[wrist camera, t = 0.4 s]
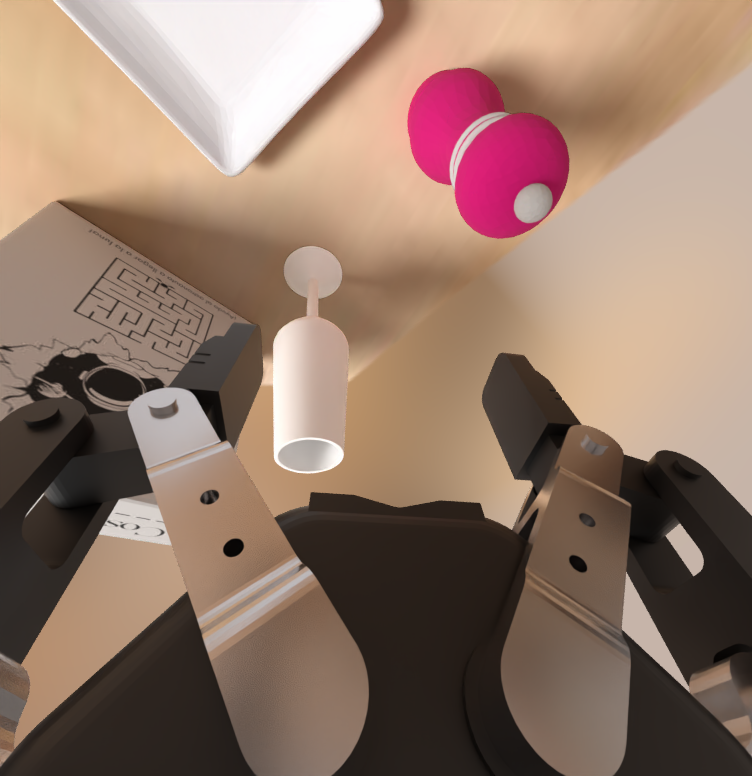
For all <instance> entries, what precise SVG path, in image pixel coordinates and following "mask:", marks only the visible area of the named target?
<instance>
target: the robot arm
mask: <svg viewBox="0 0 752 776" xmlns="http://www.w3.org/2000/svg"><path fill="white" fill-rule="evenodd" d="M262 376H263V357H262V343H261V330H260V327H259V325H255V324H246V323H237V322H234V323H233V324H232V325H231V326H230V328H229V329H228V331H227V332H226V334H225V335H224V336H214V337H212V338H210V339H208V340H207V341H205V342H203V343H202V344H201V345H200V346H199V348H198V349H197V350H196V352H195V355H194V354H193V355H192V357H191V358H190V359H189V362H187V363H186V364H185V366H184V367H183V368H182V369H181V371H180V372H179V373H178V375H177V376H176V377H175V378H174V380H173V381H172V382H171V384H170V385H169V386H168V387H167V388H161V389H157V390H153V391H150V392H147V393H145V394H143V395H141V396H139V397H138V398H136V399H135V400H134V401H133V402H132V403H131V405H130V406H129V408H128V410H124V411H117V412H108V413H99V414H91V415H88V413H87V411H86V408H85V406H84V405H83V404H82V403H81V402H80V401H78V400H75V399H71V398H50V399H44V400H40V401H36V402H33V403H30V404H27V405H25V406H23V407H20V408H18V409H16V410H15V411H13V412H11V413H10V414H9V415H7V416H6V417H5V418H4V419H3V420H1V421H0V776H752V516H751V515H750V514H749V513H748V512H747V511H746V510H745V508H744V507H743V506H742V505H741V504H740V503H739V502H738V501H737V500H736V499H735V498H734V497H733V496H732V495H731V494H730V493H729V492H728V491H727V490H726V488H725V487H724V486H723V485H722V484H721V483H720V482H719V481H718V480H717V479H716V478H715V477H714V476H713V475H712V474H711V473H710V472H709V471H708V470H707V469H706V468H704V467H703V466H702V465H700V464H699V463H697V462H696V461H694V460H692V459H691V458H689V457H687V456H684V455H682V454H680V453H677V452H673V451H668V450H663V451H659V452H657V453H656V454H655V455H654V456H653V457H652V458H651V460H650V461H649V462H647V461H644V460H640V459H637V458H634V457H630V456H627V455H624V453H623V450H622V448H621V447H620V445H619V444H618V443H617V442H616V441H615V440H614V439H613V438H611V437H610V436H609V435H607V434H605V433H604V432H602V431H600V430H598V429H596V428H593V427H590V426H586V425H582V424H581V423H580V422H579V421H578V419H577V418H576V416H575V415H574V414H573V413H572V411H571V410H570V408H569V407H568V406H567V404H566V403H565V402H564V400H562V397H561V396H560V395H559V393H558V392H556V390H555V388H554V387H553V385H552V384H551V383H550V381H549V380H548V379H546V378H545V377H544V376H543V375H541V374H540V373H539V372H537V371H535V369H534V368H533V367H532V365H531V364H530V363H529V361H528V360H527V358H526V357H525V356H524V355H518V354H508V353H500V354H499V355H498V357H497V358H496V360H495V363H494V365H493V367H492V370H491V372H490V375H489V377H488V380H487V382H486V385H485V387H484V390H483V394H482V403H483V407H484V409H485V412H486V414H487V416H488V418H489V421H490V423H491V425H492V428H493V430H494V432H495V435H496V437H497V439H498V442H499V444H500V446H501V449H502V451H503V453H504V456H505V458H506V460H507V462H508V465H509V467H510V469H511V472H512V474H513V476H514V479H518V480H531V481H532V483H533V485H532V487H531V488H530V490H529V491H528V493H527V496H526V498H525V500H524V503H523V505H522V507H521V510H520V512H519V515H518V517H517V519H516V522H515V524H514V526H513V529H512V530H511V529H509V528H508V527H506V526H503V525H502V524H500V523H498V522H495V521H493V520H491V519H488V518H485V517H484V514H483V510H482V507H481V504H480V503H471V502H455V501H435V502H430V503H424V504H419V505H413V506H408V507H402V508H398V507H393V506H390V505H386V504H383V503H379V502H376V501H373V500H369V499H366V498H363V497H359V496H356V495H345V494H330V493H314V492H312V493H311V495H310V502H309V506H305V507H300V508H296V509H293V510H290V511H287V512H285V513H283V514H280V515H278V516H277V517H275V518H274V517H273V515H272V514H271V512H270V510H269V508H268V507H267V505H266V504H265V502H264V500H263V498H262V497H261V495H260V493H259V491H258V490H257V488H256V486H255V485H254V483H253V481H252V480H251V478H250V476H249V475H248V473H247V471H246V470H245V468H244V466H243V465H242V463H241V461H240V459H239V458H238V456H237V454H236V453H235V451H234V447H235V445H236V442H237V440H238V438H239V435H240V433H241V430H242V428H243V425H244V423H245V421H246V418H247V416H248V414H249V411H250V409H251V406H252V404H253V402H254V399H255V397H256V394H257V392H258V390H259V387H260V385H261V382H262ZM43 493H44V495H43V496H42V494H43ZM149 493H154V495H155V498H156V501H157V504H158V507H159V510H160V513H161V515H162V518H163V521H164V524H165V527H166V530H167V533H168V536H169V539H170V542H171V545H172V547H173V550H174V553H175V556H176V559H177V562H178V565H179V568H180V570H181V574H182V577H183V579H184V582H185V585H186V588H187V592H186V593H185V594H184V595H183V596H181V597H180V598H179V599H178V600H177V601H176V602H175V603H174V604H173V605H171V606H170V607H169V608H168V609H167V610H166V611H165V612H164V613H162V614H161V615H160V616H159V617H158V618H157V619H156V620H155V621H153V622H152V623H151V624H150V625H149V626H148V627H147V628H146V629H145V630H144V631H142V632H141V633H140V634H139V635H138V636H137V637H135V638H134V639H133V640H132V641H131V642H130V643H129V644H128V645H127V646H125V647H124V648H123V649H122V650H121V651H120V652H119V653H118V654H116V655H115V656H114V657H113V658H112V659H111V660H110V661H109V662H107V663H106V664H105V665H104V666H103V667H102V668H101V669H100V670H99V671H97V672H96V673H95V674H94V675H93V676H92V677H91V678H90V679H88V680H87V681H86V682H85V683H84V684H83V685H82V686H81V687H79V688H78V689H77V690H76V691H75V692H74V693H73V694H72V695H70V697H68V698H67V699H66V700H65V701H64V702H63V703H62V704H60V705H59V706H58V707H57V708H56V709H55V710H54V711H53V712H51V713H50V714H49V715H48V716H47V717H46V718H45V719H44V720H43V721H41V722H40V723H39V724H38V725H37V726H36V727H35V728H34V729H33V730H32V731H31V732H30V733H29V734H28V735H27V736H26V737H25V739H24V740H23V741H22V742H21V743H20V744H19V745H18V746H17V747H16V748H15V749H14V738H15V732H16V728H17V725H18V722H19V719H20V717H21V714H22V712H23V709H24V707H25V705H26V702H27V699H28V695H29V689H30V680H29V676H28V673H27V671H26V670H25V668H24V667H23V666H21V664H22V662H23V660H24V659H25V657H26V655H27V654H28V652H29V650H30V649H31V647H32V645H33V643H34V642H35V640H36V638H37V637H38V635H39V633H40V632H41V630H42V628H43V627H44V625H45V623H46V621H47V620H48V618H49V617H50V615H51V613H52V612H53V610H54V608H55V606H56V605H57V603H58V601H59V599H60V598H61V596H62V595H63V593H64V591H65V590H66V588H67V586H68V585H69V583H70V581H71V580H72V578H73V576H74V575H75V573H76V571H77V570H78V568H79V566H80V564H81V563H82V561H83V559H84V558H85V556H86V554H87V553H88V551H89V549H90V548H91V546H92V544H93V543H94V541H95V539H96V537H97V536H98V534H99V533H100V531H101V529H102V527H103V526H104V524H105V522H106V521H107V519H108V517H109V516H110V514H111V512H112V511H113V509H114V507H115V506H116V504H117V502H118V501H119V499H123V498H129V497H134V496H139V495H144V494H149ZM41 496H42V497H41ZM40 497H41V499H40V500H39V501H38V502H37V500H38V499H39V498H40ZM36 502H37V504H36V505H35V506H34V507H33V505H34V504H35V503H36ZM32 507H33V509H32V510H31V511H30V512H29V510H30V509H31V508H32ZM28 512H29V513H28ZM27 513H28V515H27ZM26 515H27V516H26ZM678 524H681V525H682V526H683V528H684V529H685V530H686V532H687V533H688V534H689V536H690V537H691V538H692V540H693V541H694V542H695V544H696V545H697V546H698V548H699V549H700V551H701V553H702V555H703V558H704V565H703V569H702V570H701V572H699V573H698V574H697V575H695V576H694V577H693V575H692V574H691V572H690V571H689V569H688V568H687V566H686V565H685V564H684V562H683V561H682V559H681V558H680V557H679V555H678V553H677V552H676V550H675V549H674V548H673V546H672V545H671V543H670V542H669V540H668V539H667V538H666V536H665V535H667V534H668V533H669V532H670V531H671V530H672V529H674V528H675V527H676V526H677V525H678ZM626 572H627V574H628V575H629V577H630V579H631V581H632V583H633V585H634V587H635V588H636V590H637V592H638V594H639V596H640V598H641V599H642V601H643V603H644V605H645V607H646V609H647V611H648V612H649V614H650V616H651V618H652V620H653V621H654V623H655V625H656V627H657V629H658V631H659V633H660V634H661V636H662V638H663V640H664V642H665V643H666V646H667V647H668V649H669V651H670V653H671V655H672V657H673V658H674V660H675V662H676V664H677V666H678V668H679V669H680V671H681V673H682V675H683V677H684V679H685V680H686V682H687V684H688V686H689V690H690V693H689V692H688V691H687V690H686V689H685V688H684V687H683V686H682V685H681V684H680V683H679V682H678V681H676V680H675V679H674V678H673V677H672V676H671V675H670V674H669V673H668V672H667V671H666V670H665V669H663V667H661V666H660V665H659V664H658V663H657V662H656V661H655V660H654V659H653V658H652V657H651V656H650V655H649V654H647V653H646V652H645V651H644V650H643V649H642V648H641V647H640V646H639V645H638V644H637V643H636V642H635V641H634V640H632V639H631V638H630V637H629V636H628V635H627V634H626V633H625V632H624V631H623V630H622V615H623V604H624V592H625V579H626Z"/></svg>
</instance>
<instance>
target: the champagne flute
mask: <svg viewBox="0 0 752 776" xmlns="http://www.w3.org/2000/svg"><path fill="white" fill-rule="evenodd" d="M284 277H285V280H286V282H287V284H288V285H289V287H290V288H291V289H292V290H293V291H294V292H296V293H297V294H298V295H301V296H303V297H306V298H307V316H306V317H301V318H297V319H295V320H292V321H290V322H289V323H288V324H286V325H285V326H283V327H282V328H281V329H280V330H279V332H278V333H277V335H276V337H275V339H274V343H273V391H274V393H273V394H274V459H275V461H276V462H277V464H278V465H280V466H281V467H283V468H285V469H287V470H290V471H293V472H299V473H317V472H322V471H325V470H329V469H331V468H333V467H335V466H336V465H338V464H339V463H340V462H341V461H342V459H343V456H344V439H345V420H346V400H347V381H348V361H349V344H348V342H347V339H346V337H345V335H344V334H343V332H342V331H341V330H340V329H339V328H338V327H337V326H336V325H335V324H333V323H332V322H330V321H328V320H326V319H323V318H320V317H318V299H321V298H325V297H327V296H329V295H331V294H332V293H334V292H335V291H336V290H337V289H338V287H339V286H340V283H341V281H342V268H341V265H340V263H339V261H338V260H337V258H336V257H335V256H334V255H333V254H332V253H330V252H329V251H327V250H325V249H323V248H320V247H316V246H305V247H302V248H299V249H297V250H295V251H294V252H292V253H291V254H290V255H289V256H288V258H287V260H286V262H285V265H284Z"/></svg>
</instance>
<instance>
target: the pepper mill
mask: <svg viewBox="0 0 752 776" xmlns="http://www.w3.org/2000/svg"><path fill="white" fill-rule="evenodd" d="M408 133H409V137H410V144H411V149H412V153H413V156H414V159H415V161H416V163H417V164H418V166H419V167H420V168H421V170H422V171H423V172H424V173H425V174H426V175H427V176H428V177H430V178H431V179H433V180H434V181H436V182H438V183H442V184H446V185H452V186H453V188H454V191H455V198H456V204H457V206H458V209H459V211H460V214H461V216H462V217H463V219H464V220H465V222H466V223H467V224H468V225H469V226H470V227H471V228H472V229H473V230H475V231H477V232H478V233H480V234H482V235H485V236H487V237H492V238H497V239H499V238H509V237H514V236H517V235H520V234H523V233H525V232H527V231H529V230H531V229H532V228H534V227H535V226H537V225H538V224H539V223H540V222H541V221H542V220H543V219H545V218H546V217H547V216H548V215H549V214H550V212H551V211H552V210H553V209H554V207H555V206H556V204H557V203H558V201H559V200H560V197H561V195H562V193H563V191H564V189H565V186H566V183H567V179H568V173H569V155H568V149H567V146H566V143H565V140H564V138H563V136H562V135H561V133H560V132H559V130H558V129H557V127H555V126H554V125H553V124H552V123H551V122H550V121H549V120H547V119H545V118H543V117H541V116H538V115H534V114H531V113H517V114H510V113H506V112H505V109H504V104H503V101H502V98H501V94H500V92H499V91H498V89H497V87H496V86H495V84H494V83H493V82H492V81H491V80H490V79H489V78H488V77H487V76H486V75H484V74H482V73H481V72H479V71H477V70H474V69H470V68H458V69H454V70H444V71H440V72H438V73H435V74H434V75H432V76H430V77H429V78H428V79H426V80H425V81H424V82H423V83H422V85H421V86H420V87H419V88H418V90H417V92H416V93H415V95H414V97H413V99H412V102H411V105H410V108H409V113H408Z"/></svg>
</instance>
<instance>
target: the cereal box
mask: <svg viewBox="0 0 752 776" xmlns="http://www.w3.org/2000/svg"><path fill="white" fill-rule="evenodd" d="M234 322H237V323H246V324H252V323H250V322H249V321H247V320H245V319H244V318H242V317H241V316H239V315H237V314H236V313H234V312H233V311H231V310H229V309H228V308H226V307H225V306H223V305H221V304H220V303H218V302H217V301H215V300H213V299H212V298H210V297H208V296H207V295H205V294H204V293H202V292H200V291H199V290H197V289H196V288H194V287H192V286H191V285H189V284H188V283H186V282H184V281H183V280H181V279H180V278H178V277H176V276H175V275H173V274H172V273H170V272H168V271H167V270H165V269H164V268H162V267H160V266H159V265H157V264H156V263H154V262H152V261H151V260H149V259H148V258H146V257H144V256H143V255H141V254H140V253H138V252H136V251H135V250H133V249H132V248H130V247H128V246H127V245H125V244H124V243H122V242H120V241H119V240H117V239H116V238H114V237H112V236H111V235H109V234H108V233H106V232H104V231H103V230H101V229H100V228H98V227H96V226H95V225H93V224H92V223H90V222H88V221H87V220H85V219H84V218H82V217H80V216H79V215H77V214H76V213H74V212H72V211H71V210H69V209H68V208H66V207H64V206H63V205H61V204H60V203H58V202H55V201H53V202H51V203H50V204H48V205H47V206H46V207H44V208H43V209H42V210H40V211H39V212H38V213H36V214H35V215H34V216H32V217H31V218H29V219H28V220H27V221H25V222H24V223H23V224H21V225H20V226H19V227H17V228H16V229H15V230H13V231H12V232H11V233H9V234H8V235H7V236H5V237H4V238H3V239H1V240H0V421H1V420H3V419H4V418H5V417H6V416H7V415H9V414H10V413H11V412H13V411H15V410H16V409H18V408H20V407H23V406H25V405H27V404H30V403H33V402H36V401H40V400H44V399H50V398H71V399H75V400H78V401H80V402H81V403H82V404H83V405H84V406H85V408H86V411H87V413H88V415H91V414H99V413H108V412H117V411H124V410H128V408H129V406H130V405H131V403H132V402H133V401H134V400H135V399H136V398H138V397H139V396H141V395H143V394H145V393H147V392H150V391H153V390H157V389H161V388H167V387H168V386H169V385H170V384H171V382H172V381H173V380H174V378H175V377H176V376H177V375H178V373H179V372H180V371H181V369H182V368H183V367H184V366H185V364H186V363H187V362H189V359H190V358H191V357H192V355H193V354H194V355H195V352H196V350H197V349H198V348H199V346H200V345H201V344H202V343H203V342H205V341H207V340H208V339H210V338H212V337H214V336H224V335H225V334H226V332H227V331H228V329H229V328H230V326H231V325H232V324H233V323H234ZM238 441H239V438H238V440H237V442H236V445H235V447H234V451H235V453H236V452H237V446H238ZM43 495H44V493H43V494H42V496H43ZM42 496H41V497H42ZM41 497H40V498H39V499H38V500H37V502H38V501H39V500H40V499H41ZM37 502H36V503H35V504H34V505H33V507H34V506H35V505H36V504H37ZM33 507H32V508H31V509H30V510H29V512H30V511H31V510H32V509H33ZM29 512H28V513H29ZM28 513H27V515H28ZM27 515H26V516H27ZM99 534H102V535H108V536H114V537H121V538H127V539H133V540H140V541H146V542H154V543H159V544H166V545H171V542H170V539H169V536H168V533H167V530H166V527H165V524H164V521H163V518H162V515H161V513H160V510H159V507H158V504H157V501H156V498H155V495H154V493H149V494H144V495H139V496H134V497H129V498H123V499H119V501H118V502H117V504H116V506H115V507H114V509H113V511H112V512H111V514H110V516H109V517H108V519H107V521H106V522H105V524H104V526H103V527H102V529H101V531H100V533H99Z"/></svg>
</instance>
